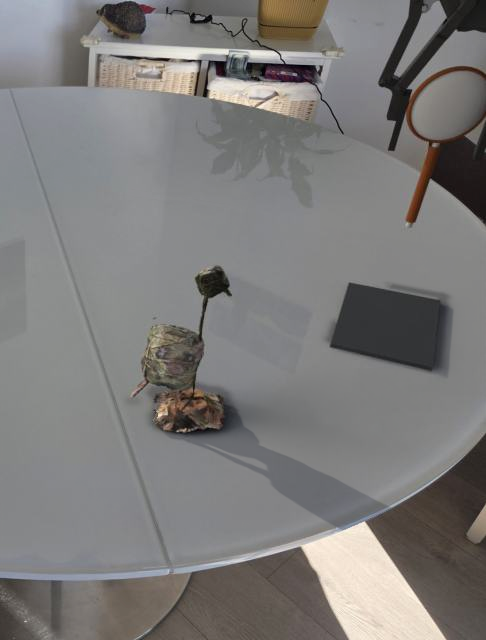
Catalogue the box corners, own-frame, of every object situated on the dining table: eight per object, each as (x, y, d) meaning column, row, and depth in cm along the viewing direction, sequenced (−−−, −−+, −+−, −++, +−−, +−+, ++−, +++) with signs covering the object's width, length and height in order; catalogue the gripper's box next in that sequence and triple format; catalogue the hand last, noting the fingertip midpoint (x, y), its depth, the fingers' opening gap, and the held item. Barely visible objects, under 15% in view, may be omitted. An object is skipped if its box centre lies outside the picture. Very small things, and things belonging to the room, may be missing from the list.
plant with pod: (142, 380, 83) (149, 246, 70) (232, 400, 79) (256, 261, 66) (124, 423, 77) (127, 284, 65) (219, 447, 73) (243, 304, 61)
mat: (439, 303, 91) (440, 300, 90) (431, 371, 80) (433, 367, 80) (348, 285, 96) (348, 282, 95) (329, 346, 85) (330, 343, 85)
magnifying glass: (373, 230, 83) (421, 69, 70) (370, 224, 84) (417, 64, 72) (446, 231, 81) (509, 67, 69) (442, 225, 83) (502, 62, 70)
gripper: (384, -66, 64) (334, 151, 78) (653, -70, 55) (541, 176, 69) (393, -76, 69) (344, 130, 83) (640, -82, 60) (538, 150, 74)
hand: (433, 151), depth 76 cm, fingers closed on magnifying glass, 8 cm apart
